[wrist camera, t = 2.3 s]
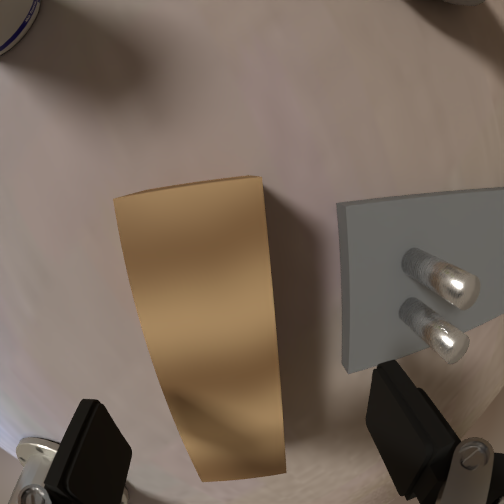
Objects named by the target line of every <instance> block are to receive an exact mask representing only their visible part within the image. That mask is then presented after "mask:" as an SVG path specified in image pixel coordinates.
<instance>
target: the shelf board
mask: <svg viewBox="0 0 504 504" xmlns="http://www.w3.org/2000/svg"><path fill="white" fill-rule="evenodd" d="M113 200H114V207H115V213H116V219H117V225H118V230H119V235H120V241H121V246H122V250H123V255H124V260H125V264H126V269H127V273H128V278H129V282H130V286H131V290H132V294H133V298H134V302H135V305H136V309H137V313H138V316H139V320H140V323H141V327H142V330H143V334H144V337H145V340H146V344H147V347H148V350H149V353H150V356H151V359H152V362H153V365H154V368H155V371H156V374H157V377H158V380H159V383H160V385H161V388H162V391H163V393H164V396H165V399H166V401H167V404H168V407H169V409H170V412H171V414H172V417H173V419H174V422H175V424H176V426H177V429H178V431H179V434H180V436H181V438H182V440H183V443H184V445H185V447H186V449H187V452H188V454H189V456H190V458H191V460H192V462H193V464H194V467H195V469H196V471H197V473H198V475H199V477H200V479H201V481H202V482H212V481H227V480H239V479H248V478H256V477H264V476H271V475H277V474H283V473H286V458H285V442H284V427H283V413H282V399H281V385H280V372H279V359H278V347H277V334H276V323H275V311H274V299H273V288H272V277H271V266H270V255H269V245H268V234H267V224H266V214H265V204H264V194H263V185H262V177H258V176H249V175H248V176H239V177H231V178H223V179H215V180H207V181H200V182H193V183H186V184H180V185H173V186H167V187H161V188H155V189H149V190H144V191H140V192H137V193H133V194H129V195H126V196H122V197H118V198H115V199H113Z"/></svg>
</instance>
